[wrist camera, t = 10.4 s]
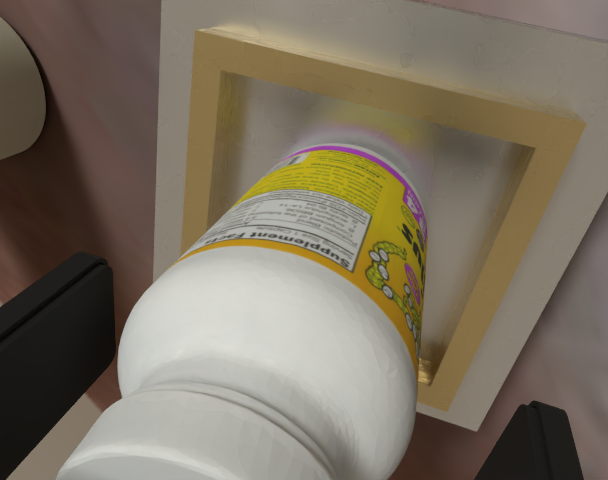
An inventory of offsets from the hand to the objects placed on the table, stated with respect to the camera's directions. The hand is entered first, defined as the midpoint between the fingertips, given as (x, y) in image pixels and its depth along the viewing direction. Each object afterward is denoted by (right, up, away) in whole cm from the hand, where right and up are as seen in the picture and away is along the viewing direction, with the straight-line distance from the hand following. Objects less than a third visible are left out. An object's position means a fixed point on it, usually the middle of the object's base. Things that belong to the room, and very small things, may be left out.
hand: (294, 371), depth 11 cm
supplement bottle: (+2, +4, +8) cm, 9 cm away
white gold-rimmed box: (+3, +6, +12) cm, 14 cm away
